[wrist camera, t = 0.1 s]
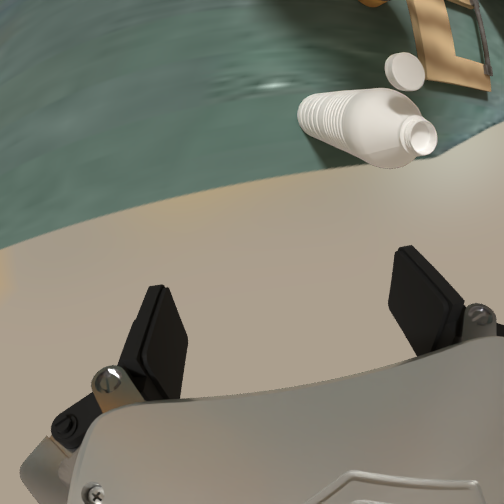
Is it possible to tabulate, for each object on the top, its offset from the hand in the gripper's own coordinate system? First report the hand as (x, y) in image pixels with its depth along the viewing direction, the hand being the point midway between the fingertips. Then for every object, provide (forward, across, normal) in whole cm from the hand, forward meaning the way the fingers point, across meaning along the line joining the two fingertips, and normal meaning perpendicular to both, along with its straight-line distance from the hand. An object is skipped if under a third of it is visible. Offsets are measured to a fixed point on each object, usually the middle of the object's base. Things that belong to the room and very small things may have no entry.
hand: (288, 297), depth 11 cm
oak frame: (+31, -36, -22) cm, 52 cm away
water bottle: (+31, -10, -6) cm, 33 cm away
